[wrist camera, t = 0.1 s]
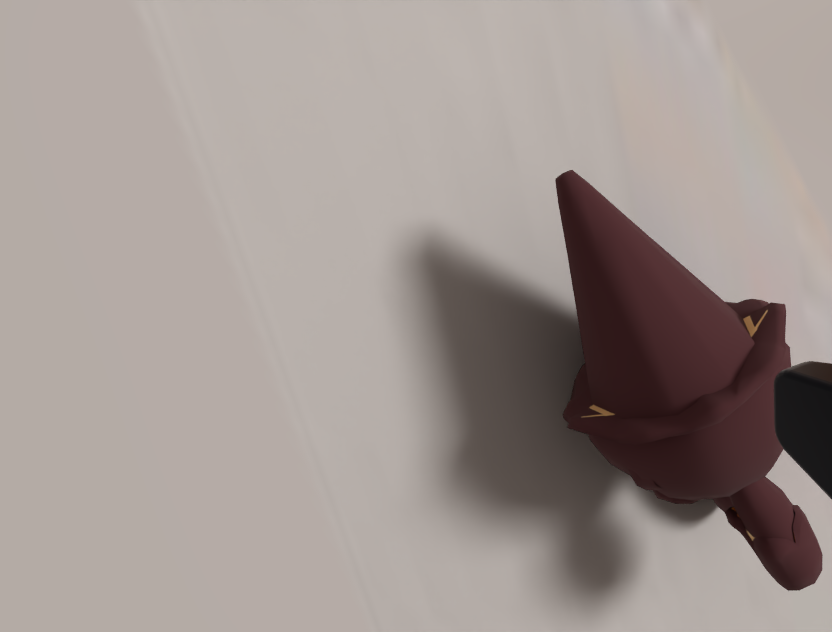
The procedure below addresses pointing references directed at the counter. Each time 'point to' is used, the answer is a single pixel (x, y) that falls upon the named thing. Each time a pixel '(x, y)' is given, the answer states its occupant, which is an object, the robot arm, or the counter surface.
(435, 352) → the counter surface
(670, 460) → the maroon bulbous piece
